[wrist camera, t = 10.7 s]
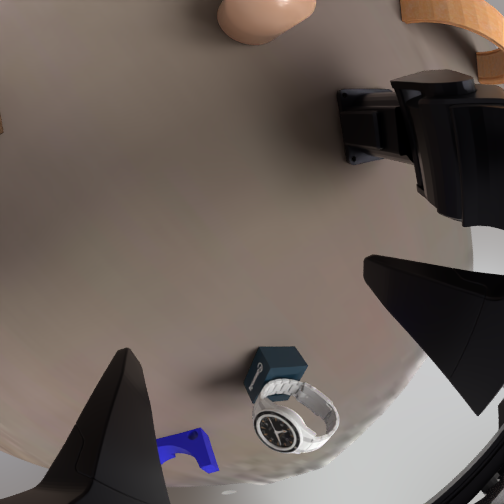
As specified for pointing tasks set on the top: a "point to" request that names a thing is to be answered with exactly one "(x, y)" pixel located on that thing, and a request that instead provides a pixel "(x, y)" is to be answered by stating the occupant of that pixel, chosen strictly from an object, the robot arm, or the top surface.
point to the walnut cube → (0, 128)
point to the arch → (467, 17)
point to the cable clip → (189, 448)
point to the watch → (281, 388)
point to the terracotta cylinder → (261, 18)
